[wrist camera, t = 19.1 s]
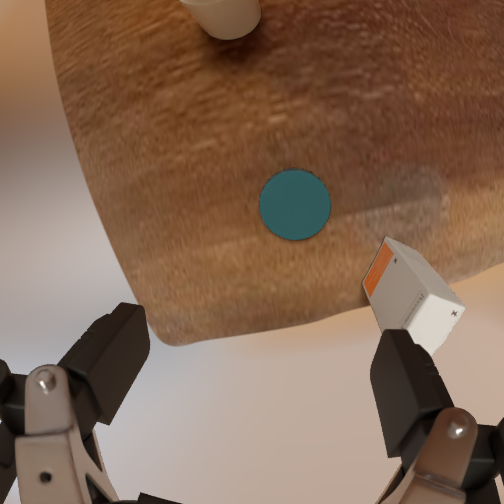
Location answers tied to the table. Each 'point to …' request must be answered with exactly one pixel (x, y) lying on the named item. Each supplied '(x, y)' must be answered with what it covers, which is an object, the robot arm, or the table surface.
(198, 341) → the table surface
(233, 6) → the white jar
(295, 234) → the jam lid
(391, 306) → the cosmetic box
